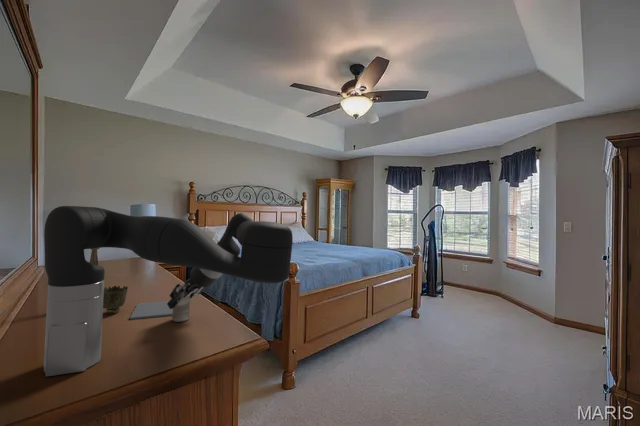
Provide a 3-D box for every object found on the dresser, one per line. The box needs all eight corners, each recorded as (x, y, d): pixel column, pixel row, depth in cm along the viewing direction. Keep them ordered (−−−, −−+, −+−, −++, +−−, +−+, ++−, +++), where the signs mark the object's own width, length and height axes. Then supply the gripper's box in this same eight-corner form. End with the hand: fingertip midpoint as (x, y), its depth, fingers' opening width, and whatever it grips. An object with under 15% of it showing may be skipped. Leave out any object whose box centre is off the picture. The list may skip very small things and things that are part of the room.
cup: (132, 310, 98) (133, 286, 98) (114, 317, 91) (115, 291, 91) (111, 308, 99) (112, 284, 99) (92, 315, 91) (93, 290, 92)
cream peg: (189, 320, 89) (190, 287, 89) (171, 322, 87) (173, 288, 87) (189, 315, 93) (190, 284, 94) (172, 317, 91) (173, 285, 92)
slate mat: (187, 314, 96) (187, 312, 96) (129, 319, 89) (129, 317, 89) (187, 301, 110) (187, 299, 110) (138, 305, 104) (138, 303, 104)
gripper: (200, 282, 80) (164, 321, 83) (231, 273, 93) (199, 307, 97) (185, 261, 82) (150, 300, 85) (218, 255, 95) (186, 289, 99)
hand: (176, 303), depth 91 cm, fingers closed on cream peg, 4 cm apart
